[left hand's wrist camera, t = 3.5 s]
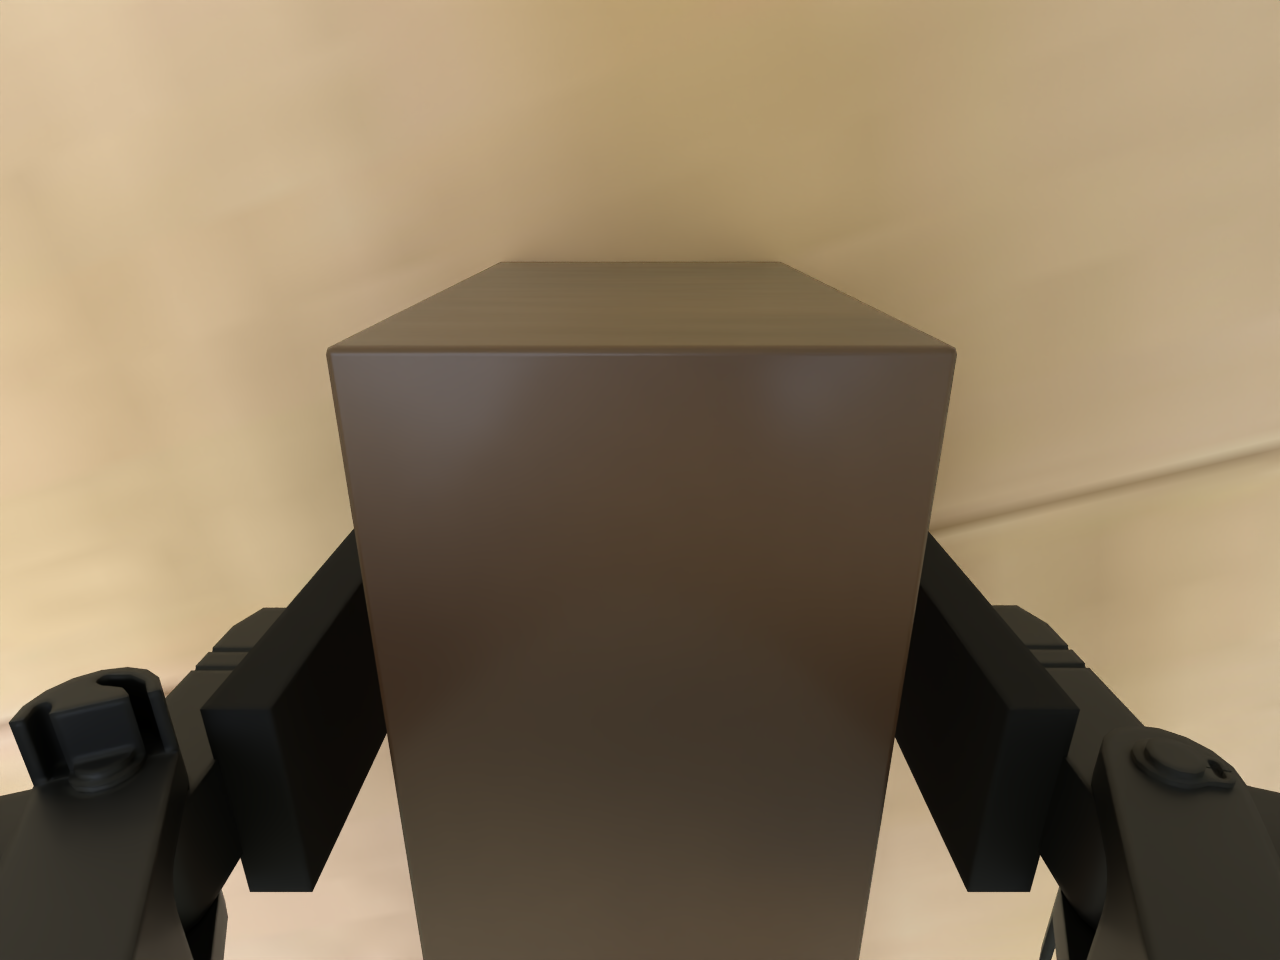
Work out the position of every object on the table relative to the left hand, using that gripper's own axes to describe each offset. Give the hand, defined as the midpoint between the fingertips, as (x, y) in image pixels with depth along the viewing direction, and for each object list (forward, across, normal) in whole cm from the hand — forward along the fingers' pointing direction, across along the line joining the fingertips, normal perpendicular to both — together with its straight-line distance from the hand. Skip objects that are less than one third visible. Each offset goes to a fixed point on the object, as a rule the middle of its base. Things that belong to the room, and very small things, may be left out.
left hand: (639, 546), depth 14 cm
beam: (+1, 0, -29) cm, 29 cm away
